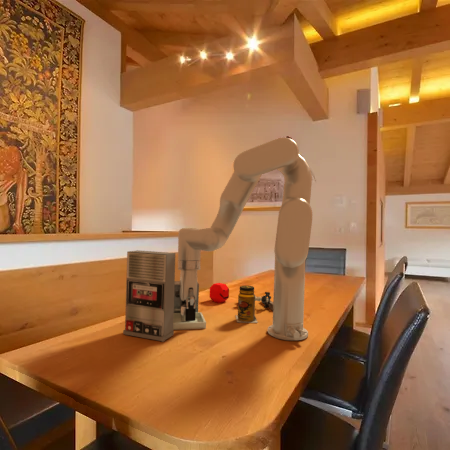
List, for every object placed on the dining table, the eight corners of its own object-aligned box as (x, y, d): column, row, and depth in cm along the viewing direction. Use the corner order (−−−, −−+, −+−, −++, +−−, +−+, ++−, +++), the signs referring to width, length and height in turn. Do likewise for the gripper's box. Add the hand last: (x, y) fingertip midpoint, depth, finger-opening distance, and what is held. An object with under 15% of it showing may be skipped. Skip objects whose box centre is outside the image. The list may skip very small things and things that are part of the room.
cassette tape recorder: (122, 335, 93) (125, 251, 93) (135, 328, 99) (137, 250, 98) (162, 342, 88) (165, 254, 88) (173, 335, 94) (176, 253, 94)
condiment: (237, 322, 108) (238, 288, 108) (235, 315, 116) (236, 283, 116) (257, 323, 108) (259, 288, 108) (254, 316, 117) (255, 284, 116)
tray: (205, 328, 101) (206, 322, 101) (171, 329, 99) (171, 323, 99) (201, 317, 112) (201, 312, 112) (169, 318, 110) (169, 313, 110)
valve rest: (276, 310, 124) (276, 304, 124) (247, 311, 122) (247, 305, 122) (264, 301, 138) (264, 296, 138) (238, 302, 135) (238, 296, 135)
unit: (198, 317, 112) (199, 284, 112) (170, 318, 110) (171, 284, 110) (195, 312, 119) (196, 280, 119) (169, 313, 116) (170, 281, 116)
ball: (219, 304, 131) (220, 286, 131) (206, 301, 136) (206, 283, 136) (231, 301, 137) (232, 284, 137) (218, 298, 142) (218, 281, 142)
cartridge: (196, 322, 105) (196, 305, 105) (183, 324, 103) (184, 306, 102) (190, 319, 109) (190, 302, 109) (178, 320, 106) (178, 303, 106)
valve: (239, 307, 130) (265, 310, 124) (237, 292, 129) (264, 295, 123) (246, 301, 136) (271, 304, 129) (244, 287, 135) (270, 289, 128)
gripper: (175, 262, 112) (175, 310, 112) (180, 268, 95) (179, 325, 95) (196, 261, 114) (195, 308, 114) (204, 268, 97) (204, 323, 97)
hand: (188, 316), depth 104 cm, fingers open, 8 cm apart
